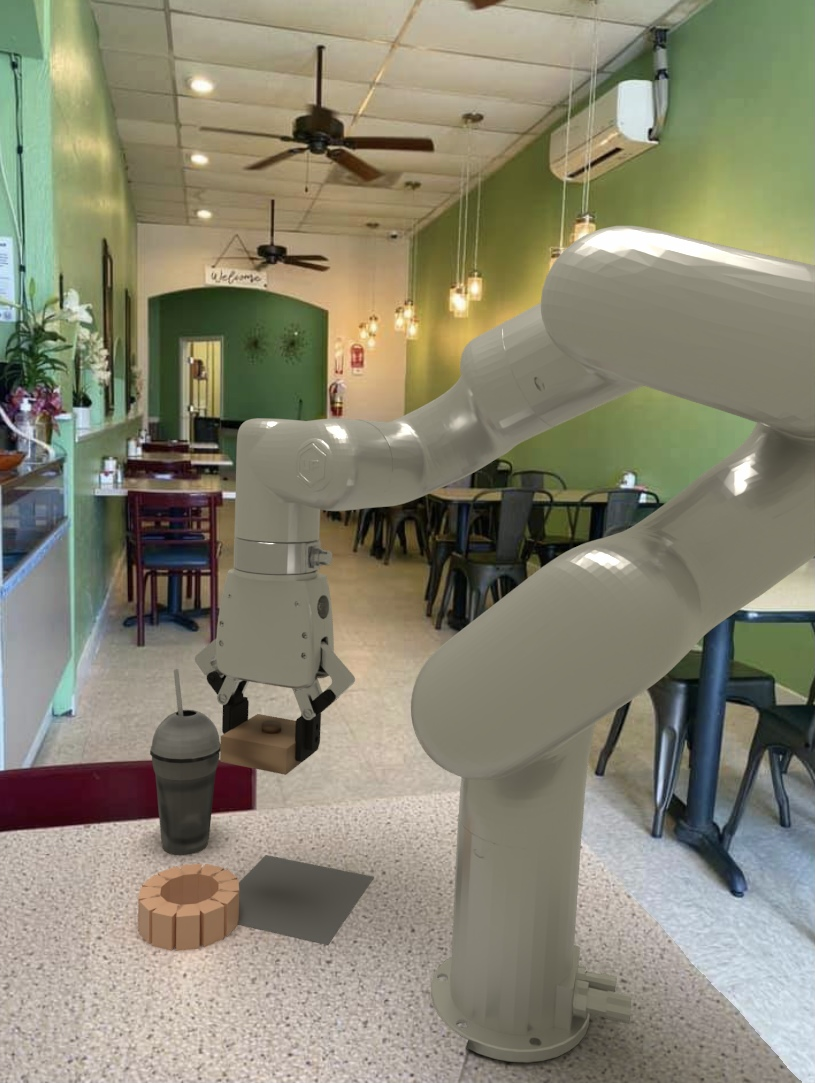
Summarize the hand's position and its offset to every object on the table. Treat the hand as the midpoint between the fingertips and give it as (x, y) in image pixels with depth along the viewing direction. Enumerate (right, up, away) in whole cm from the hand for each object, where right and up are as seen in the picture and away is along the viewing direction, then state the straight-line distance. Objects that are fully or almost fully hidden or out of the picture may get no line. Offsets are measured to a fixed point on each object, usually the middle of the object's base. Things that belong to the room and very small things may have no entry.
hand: (270, 747), depth 75 cm
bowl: (-7, -16, -2) cm, 18 cm away
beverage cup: (-11, -14, +12) cm, 22 cm away
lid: (0, -1, 0) cm, 1 cm away
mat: (+2, -16, +3) cm, 16 cm away
